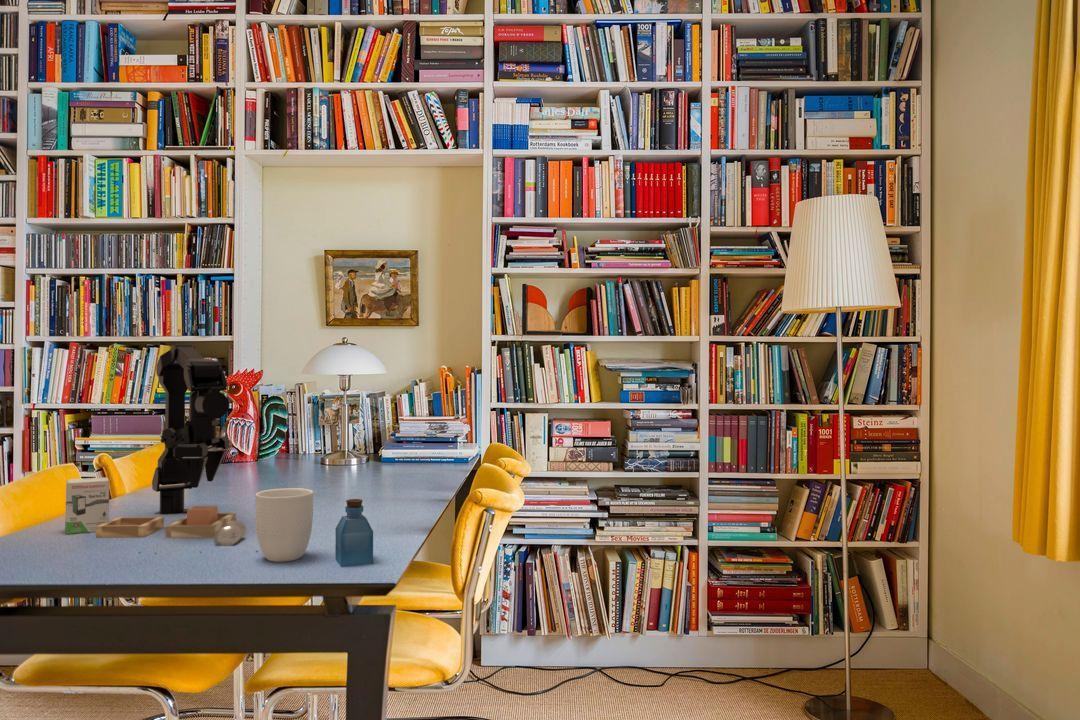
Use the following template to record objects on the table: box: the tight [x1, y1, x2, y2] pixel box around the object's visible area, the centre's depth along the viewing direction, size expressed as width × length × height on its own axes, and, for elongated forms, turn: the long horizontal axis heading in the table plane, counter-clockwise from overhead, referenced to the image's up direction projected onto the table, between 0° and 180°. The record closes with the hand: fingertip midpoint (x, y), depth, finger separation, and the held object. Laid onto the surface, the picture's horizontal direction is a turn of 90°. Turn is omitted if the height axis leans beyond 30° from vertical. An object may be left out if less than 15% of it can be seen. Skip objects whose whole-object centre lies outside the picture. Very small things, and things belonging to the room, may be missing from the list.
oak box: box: [95, 516, 165, 539], centre depth 176 cm, size 10×10×3 cm
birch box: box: [164, 512, 237, 539], centre depth 179 cm, size 15×10×3 cm
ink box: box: [64, 476, 110, 535], centre depth 181 cm, size 9×5×12 cm, turn 123°
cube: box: [186, 505, 219, 525], centre depth 179 cm, size 5×5×5 cm
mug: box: [254, 487, 314, 563], centre depth 158 cm, size 15×11×13 cm
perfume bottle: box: [334, 498, 374, 567], centre depth 155 cm, size 6×6×12 cm
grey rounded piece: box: [213, 520, 247, 547], centre depth 168 cm, size 7×4×4 cm
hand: (202, 484), depth 179 cm, fingers open, 9 cm apart
